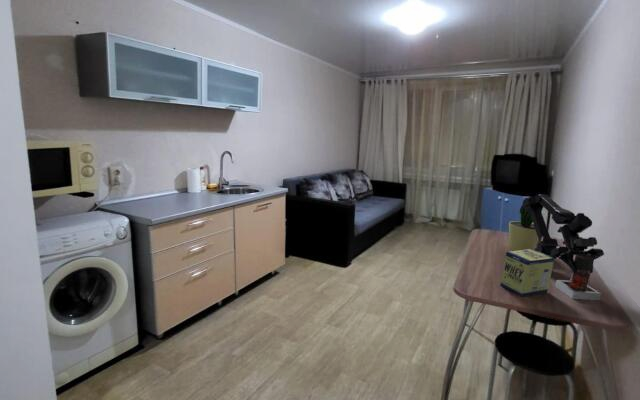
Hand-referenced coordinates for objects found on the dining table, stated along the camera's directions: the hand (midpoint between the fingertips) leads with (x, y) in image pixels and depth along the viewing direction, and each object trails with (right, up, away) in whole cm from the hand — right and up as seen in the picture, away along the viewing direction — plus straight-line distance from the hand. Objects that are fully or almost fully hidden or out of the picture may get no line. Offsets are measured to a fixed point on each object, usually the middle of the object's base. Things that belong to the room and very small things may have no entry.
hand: (583, 272), depth 141 cm
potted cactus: (+4, +1, +52) cm, 52 cm away
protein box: (-22, -8, +5) cm, 24 cm away
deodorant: (0, -8, +3) cm, 9 cm away
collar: (0, -9, +3) cm, 10 cm away
